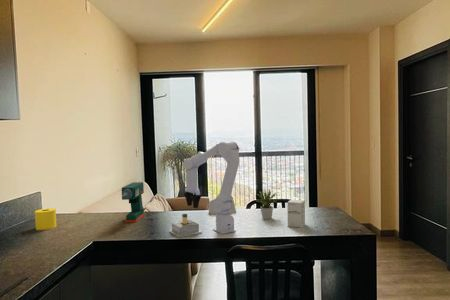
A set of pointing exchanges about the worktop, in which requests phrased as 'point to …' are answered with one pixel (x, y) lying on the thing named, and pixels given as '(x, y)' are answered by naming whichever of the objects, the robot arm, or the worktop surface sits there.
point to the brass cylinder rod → (184, 219)
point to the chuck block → (185, 229)
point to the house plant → (266, 205)
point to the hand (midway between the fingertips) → (192, 206)
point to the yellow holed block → (45, 219)
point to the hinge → (213, 210)
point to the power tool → (134, 200)
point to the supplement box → (296, 213)
